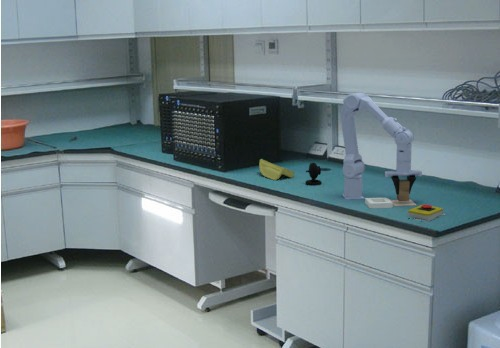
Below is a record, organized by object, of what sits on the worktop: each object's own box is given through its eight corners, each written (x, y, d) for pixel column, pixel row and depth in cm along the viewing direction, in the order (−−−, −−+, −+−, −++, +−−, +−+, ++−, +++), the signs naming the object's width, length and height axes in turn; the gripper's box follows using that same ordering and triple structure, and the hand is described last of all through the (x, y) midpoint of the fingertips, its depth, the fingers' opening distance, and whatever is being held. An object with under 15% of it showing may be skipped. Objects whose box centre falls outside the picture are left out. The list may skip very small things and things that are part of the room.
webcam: (324, 184, 313) (324, 163, 311) (308, 186, 311) (308, 164, 309) (317, 181, 321) (317, 160, 319) (302, 182, 319) (302, 161, 317)
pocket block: (365, 204, 277) (365, 198, 277) (387, 203, 277) (387, 197, 277) (369, 209, 268) (370, 203, 268) (392, 209, 269) (392, 202, 268)
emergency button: (446, 204, 259) (425, 212, 248) (446, 215, 259) (425, 224, 249) (424, 200, 265) (403, 208, 254) (424, 211, 266) (403, 219, 255)
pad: (388, 201, 280) (388, 200, 280) (410, 200, 281) (410, 199, 281) (394, 207, 272) (394, 205, 272) (416, 206, 272) (416, 204, 272)
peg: (396, 198, 278) (397, 179, 276) (406, 198, 278) (406, 179, 276) (399, 201, 274) (399, 181, 272) (409, 200, 274) (409, 181, 272)
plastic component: (296, 173, 330) (282, 166, 324) (290, 187, 330) (276, 180, 324) (273, 164, 346) (258, 157, 340) (267, 177, 346) (252, 171, 340)
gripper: (388, 163, 268) (387, 196, 271) (424, 162, 269) (423, 195, 272) (383, 159, 275) (383, 192, 278) (419, 158, 276) (418, 191, 279)
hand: (402, 193), depth 275 cm, fingers closed on peg, 4 cm apart
